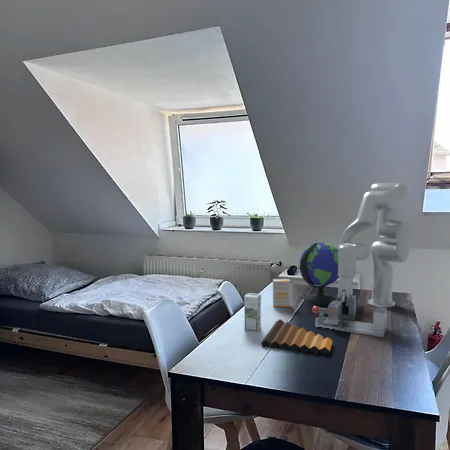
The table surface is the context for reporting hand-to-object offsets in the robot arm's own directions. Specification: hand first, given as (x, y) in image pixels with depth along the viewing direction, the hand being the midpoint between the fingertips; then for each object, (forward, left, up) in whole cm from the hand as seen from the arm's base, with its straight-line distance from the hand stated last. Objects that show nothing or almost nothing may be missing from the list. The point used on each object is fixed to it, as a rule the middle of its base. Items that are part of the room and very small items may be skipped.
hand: (345, 312), depth 190 cm
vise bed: (+12, +5, -3) cm, 13 cm away
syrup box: (+31, -32, -3) cm, 45 cm away
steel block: (0, 0, -3) cm, 3 cm away
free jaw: (+12, -6, -1) cm, 14 cm away
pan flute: (+34, -11, -3) cm, 35 cm away
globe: (-24, -17, -3) cm, 30 cm away
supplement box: (-5, -32, -3) cm, 33 cm away
